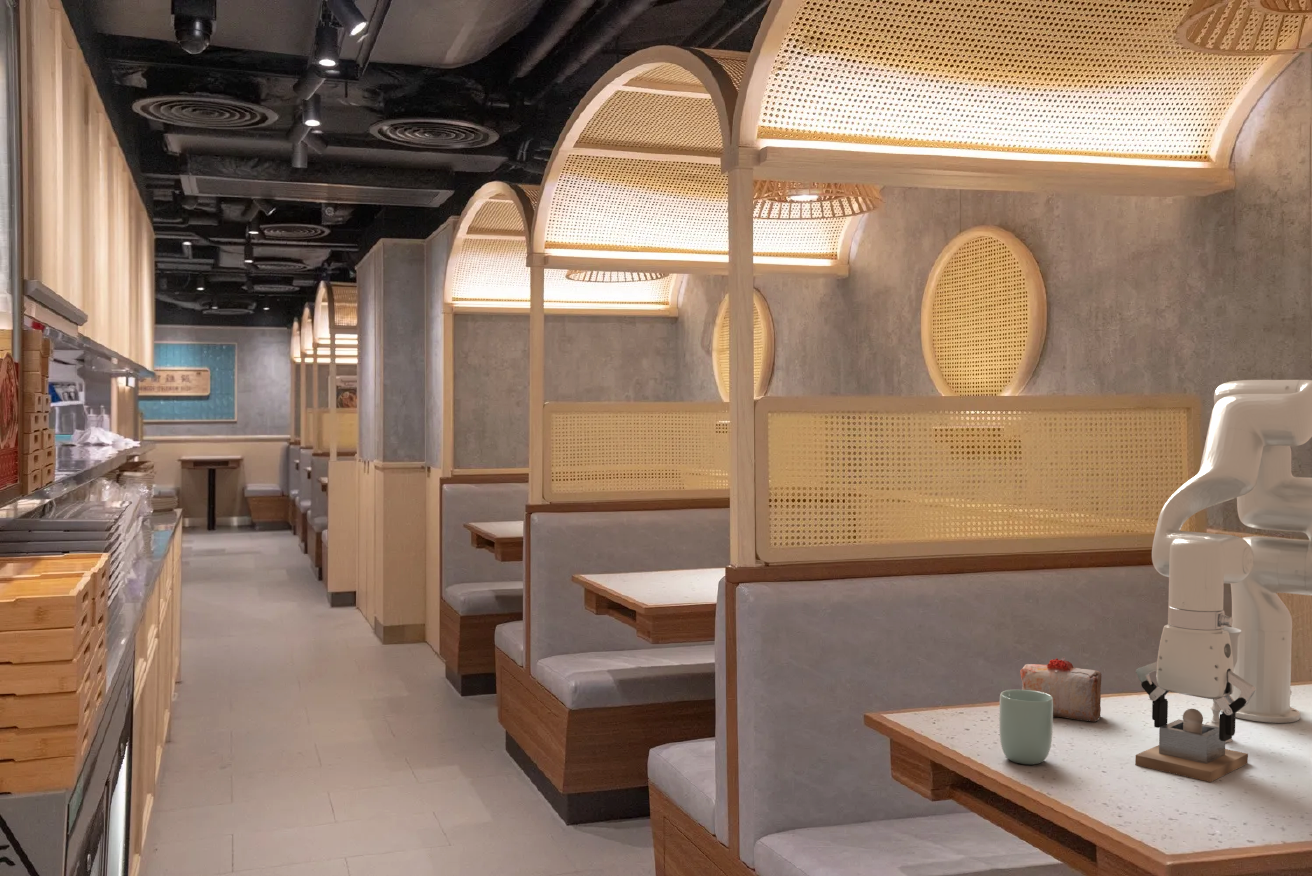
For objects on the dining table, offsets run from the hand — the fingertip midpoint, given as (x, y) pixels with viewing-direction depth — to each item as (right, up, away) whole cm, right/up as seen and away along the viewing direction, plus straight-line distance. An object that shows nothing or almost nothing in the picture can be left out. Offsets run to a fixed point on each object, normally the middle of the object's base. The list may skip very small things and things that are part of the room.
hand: (1192, 732), depth 177 cm
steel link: (0, -3, 0) cm, 3 cm away
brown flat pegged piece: (0, -5, 0) cm, 5 cm away
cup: (-25, -5, +1) cm, 26 cm away
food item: (-10, -4, +29) cm, 31 cm away
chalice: (+11, -5, +15) cm, 19 cm away
